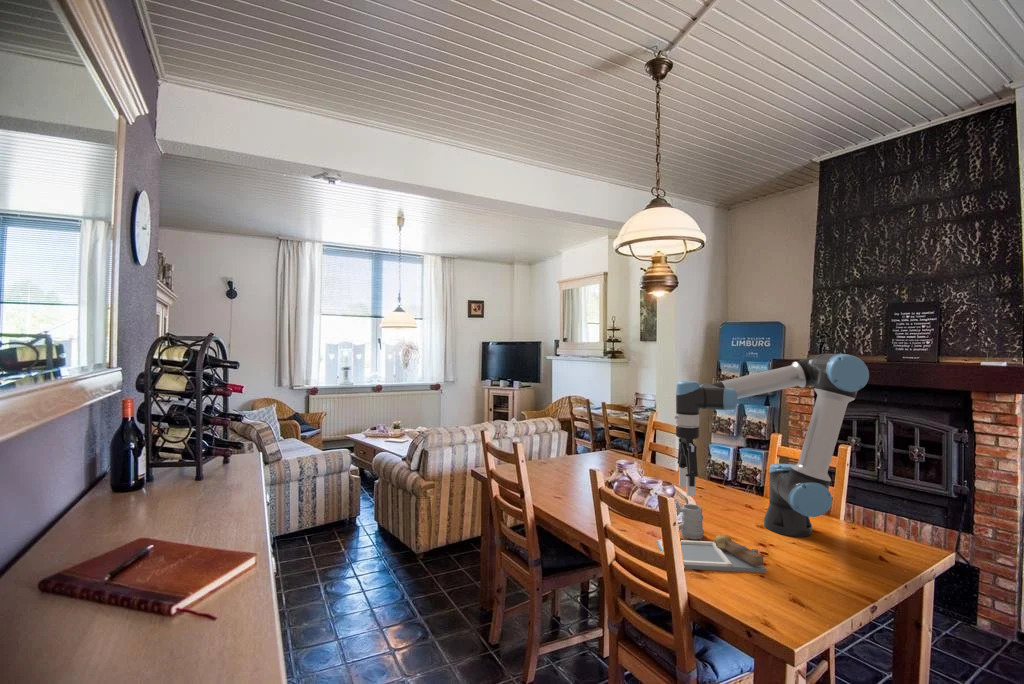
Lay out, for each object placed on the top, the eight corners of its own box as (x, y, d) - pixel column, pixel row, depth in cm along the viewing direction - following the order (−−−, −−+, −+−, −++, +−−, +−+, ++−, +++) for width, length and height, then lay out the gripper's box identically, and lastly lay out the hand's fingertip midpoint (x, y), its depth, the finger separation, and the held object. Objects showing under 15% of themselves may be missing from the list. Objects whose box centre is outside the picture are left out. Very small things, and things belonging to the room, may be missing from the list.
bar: (712, 544, 154) (712, 536, 154) (723, 542, 155) (723, 534, 155) (753, 566, 138) (754, 558, 138) (765, 564, 140) (765, 555, 140)
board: (744, 549, 155) (745, 535, 155) (765, 572, 140) (766, 557, 140) (656, 545, 158) (656, 531, 158) (666, 567, 142) (667, 552, 142)
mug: (708, 539, 163) (708, 503, 163) (677, 541, 161) (677, 505, 161) (695, 530, 171) (696, 496, 171) (665, 532, 169) (665, 498, 169)
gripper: (669, 420, 177) (668, 481, 177) (684, 431, 155) (684, 500, 155) (690, 421, 177) (689, 481, 177) (708, 432, 155) (708, 501, 155)
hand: (686, 490), depth 166 cm, fingers open, 9 cm apart
